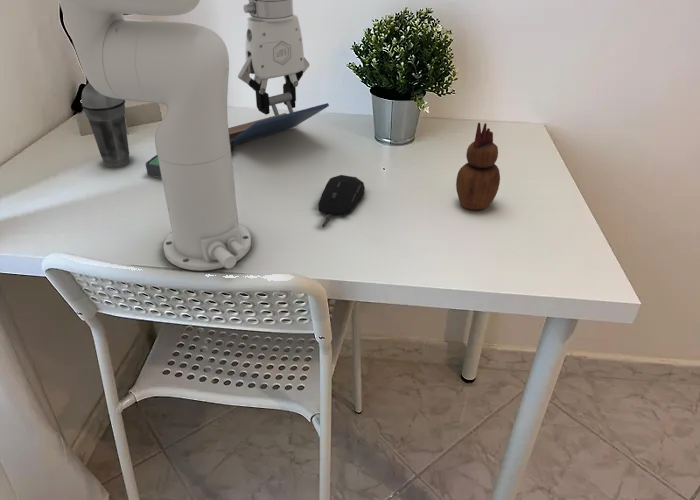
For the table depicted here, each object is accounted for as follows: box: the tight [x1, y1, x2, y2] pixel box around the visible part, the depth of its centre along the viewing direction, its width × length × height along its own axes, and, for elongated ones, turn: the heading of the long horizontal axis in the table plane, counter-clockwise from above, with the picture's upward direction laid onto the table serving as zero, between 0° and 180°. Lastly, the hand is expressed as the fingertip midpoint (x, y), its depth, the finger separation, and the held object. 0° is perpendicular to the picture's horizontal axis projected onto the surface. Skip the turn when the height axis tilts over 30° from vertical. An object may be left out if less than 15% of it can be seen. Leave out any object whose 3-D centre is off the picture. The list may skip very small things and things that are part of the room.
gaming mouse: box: [317, 174, 366, 228], centre depth 96 cm, size 6×15×4 cm, turn 162°
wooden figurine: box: [455, 122, 501, 211], centre depth 93 cm, size 7×6×15 cm
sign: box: [233, 92, 330, 145], centre depth 114 cm, size 15×16×5 cm
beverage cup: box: [81, 82, 131, 169], centre depth 104 cm, size 7×7×20 cm
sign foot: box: [228, 112, 287, 139], centre depth 121 cm, size 3×17×2 cm, turn 129°
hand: (276, 108), depth 111 cm, fingers closed on sign, 5 cm apart
